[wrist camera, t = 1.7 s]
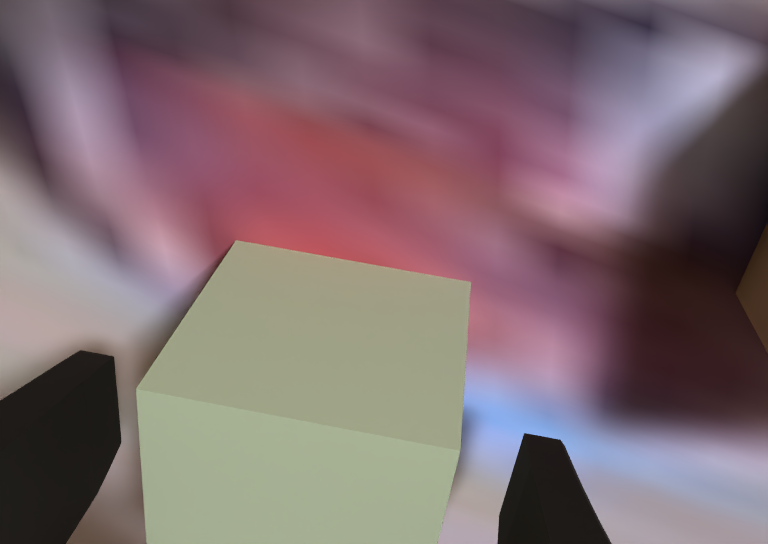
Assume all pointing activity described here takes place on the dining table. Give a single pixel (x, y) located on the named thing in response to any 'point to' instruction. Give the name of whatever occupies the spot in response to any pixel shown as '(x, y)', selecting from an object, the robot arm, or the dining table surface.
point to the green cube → (306, 405)
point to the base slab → (757, 289)
